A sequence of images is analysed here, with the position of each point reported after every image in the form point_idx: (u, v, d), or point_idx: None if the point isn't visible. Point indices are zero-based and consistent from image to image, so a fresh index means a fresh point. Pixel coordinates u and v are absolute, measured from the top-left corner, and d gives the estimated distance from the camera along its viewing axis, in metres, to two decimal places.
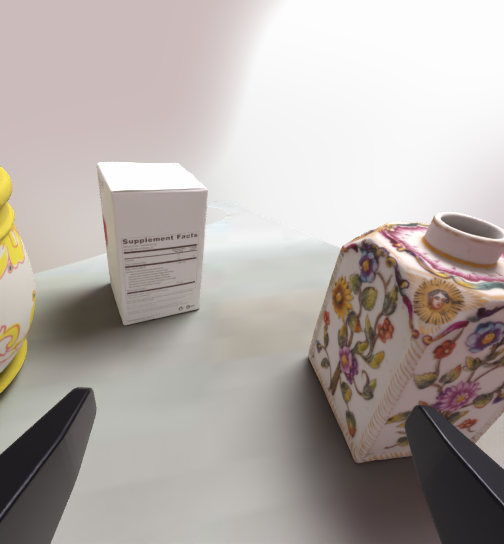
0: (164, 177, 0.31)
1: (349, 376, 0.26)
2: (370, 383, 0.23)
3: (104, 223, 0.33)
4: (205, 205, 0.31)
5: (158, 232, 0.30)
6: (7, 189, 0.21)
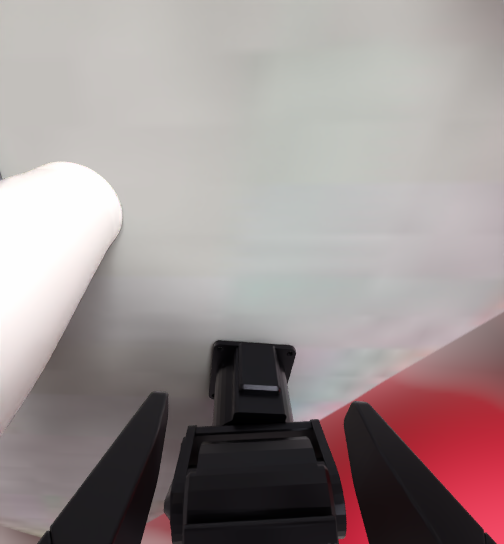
0: None
1: None
2: None
3: None
4: None
5: None
6: None
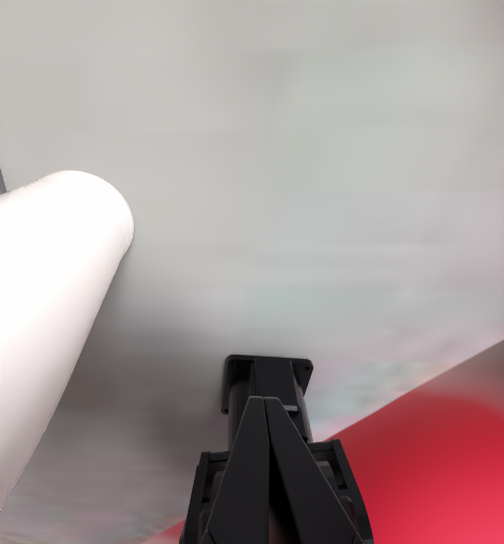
0: None
1: None
2: None
3: None
4: None
5: None
6: None
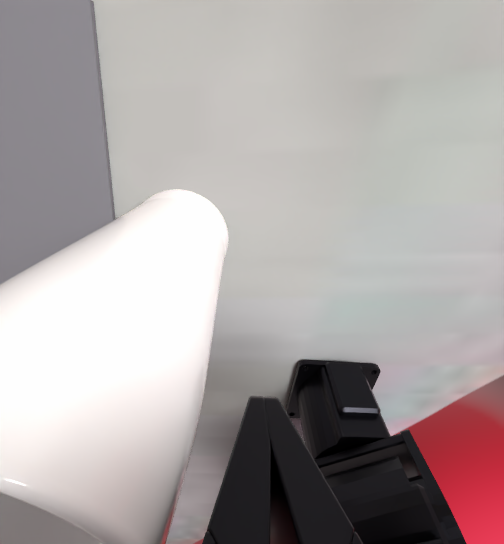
0: None
1: None
2: None
3: None
4: None
5: None
6: None
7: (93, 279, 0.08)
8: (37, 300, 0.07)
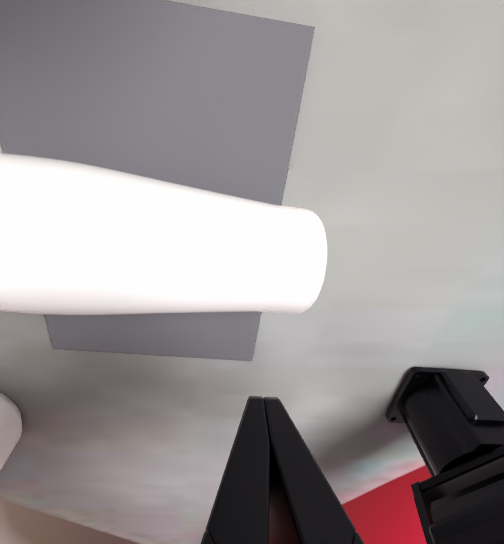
0: None
1: None
2: None
3: None
4: None
5: None
6: None
7: (76, 170, 0.12)
8: (49, 160, 0.13)
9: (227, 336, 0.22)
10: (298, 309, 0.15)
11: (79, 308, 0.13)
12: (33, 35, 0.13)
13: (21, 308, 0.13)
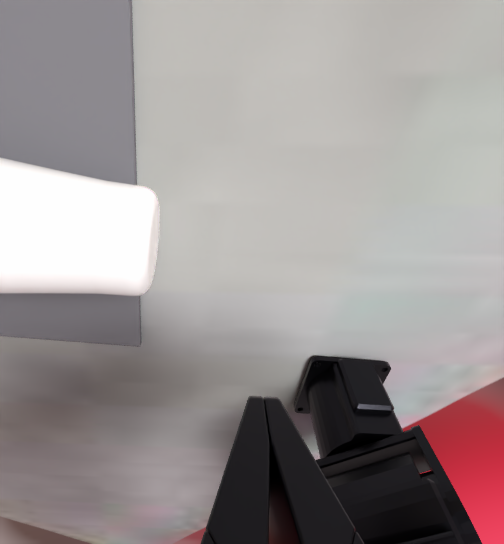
0: None
1: None
2: None
3: None
4: None
5: None
6: None
7: None
8: None
9: (107, 319, 0.21)
10: (128, 293, 0.15)
11: None
12: None
13: None
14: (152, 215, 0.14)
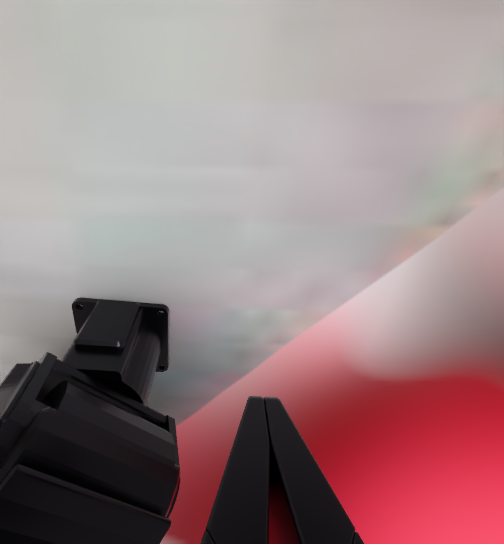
0: None
1: None
2: None
3: None
4: None
5: None
6: None
7: None
8: None
9: None
10: None
11: None
12: None
13: None
14: None
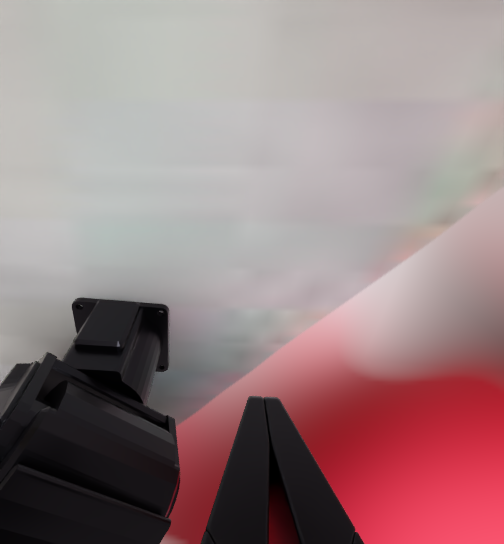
0: None
1: None
2: None
3: None
4: None
5: None
6: None
7: None
8: None
9: None
10: None
11: None
12: None
13: None
14: None
